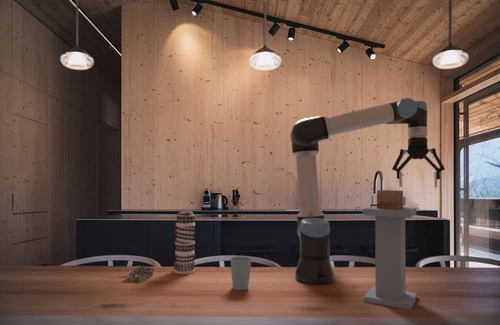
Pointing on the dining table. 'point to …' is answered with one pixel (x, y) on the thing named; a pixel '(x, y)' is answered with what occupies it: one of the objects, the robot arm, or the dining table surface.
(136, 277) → the brown lumpy stone
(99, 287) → the dining table surface
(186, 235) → the decorative candle
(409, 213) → the stand
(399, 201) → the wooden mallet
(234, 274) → the cup
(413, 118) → the robot arm
